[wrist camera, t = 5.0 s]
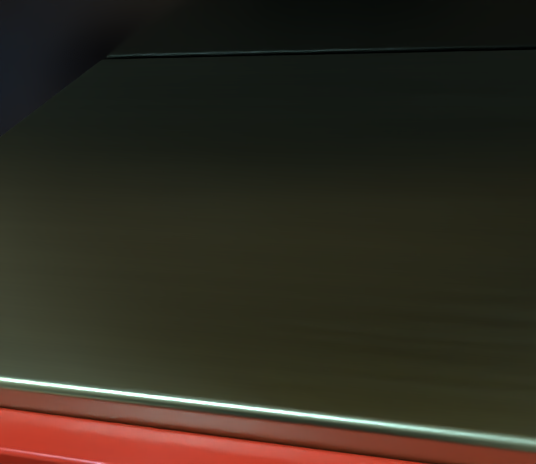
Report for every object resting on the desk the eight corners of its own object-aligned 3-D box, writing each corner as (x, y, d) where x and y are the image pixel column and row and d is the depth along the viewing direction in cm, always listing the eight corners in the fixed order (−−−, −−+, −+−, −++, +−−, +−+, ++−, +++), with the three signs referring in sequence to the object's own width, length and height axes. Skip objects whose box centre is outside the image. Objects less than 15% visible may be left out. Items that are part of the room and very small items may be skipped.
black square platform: (1158, -155, 5) (1474, -152, 4) (610, 490, 14) (638, 572, 12) (-154, -157, 8) (-293, -156, 6) (67, 396, 16) (33, 455, 15)
